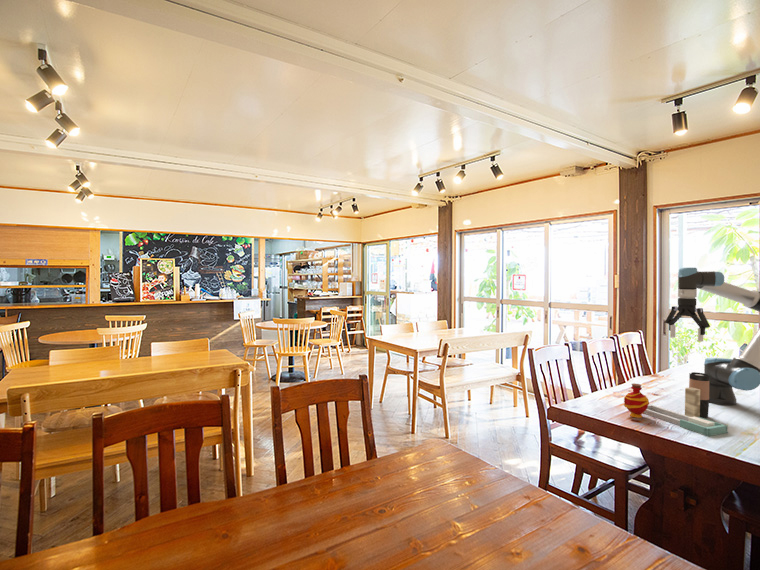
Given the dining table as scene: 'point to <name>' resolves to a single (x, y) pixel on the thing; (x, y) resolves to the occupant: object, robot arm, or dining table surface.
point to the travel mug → (701, 390)
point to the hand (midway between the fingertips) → (686, 339)
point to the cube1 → (694, 420)
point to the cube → (705, 423)
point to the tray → (705, 428)
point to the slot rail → (667, 412)
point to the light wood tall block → (692, 402)
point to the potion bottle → (636, 401)
